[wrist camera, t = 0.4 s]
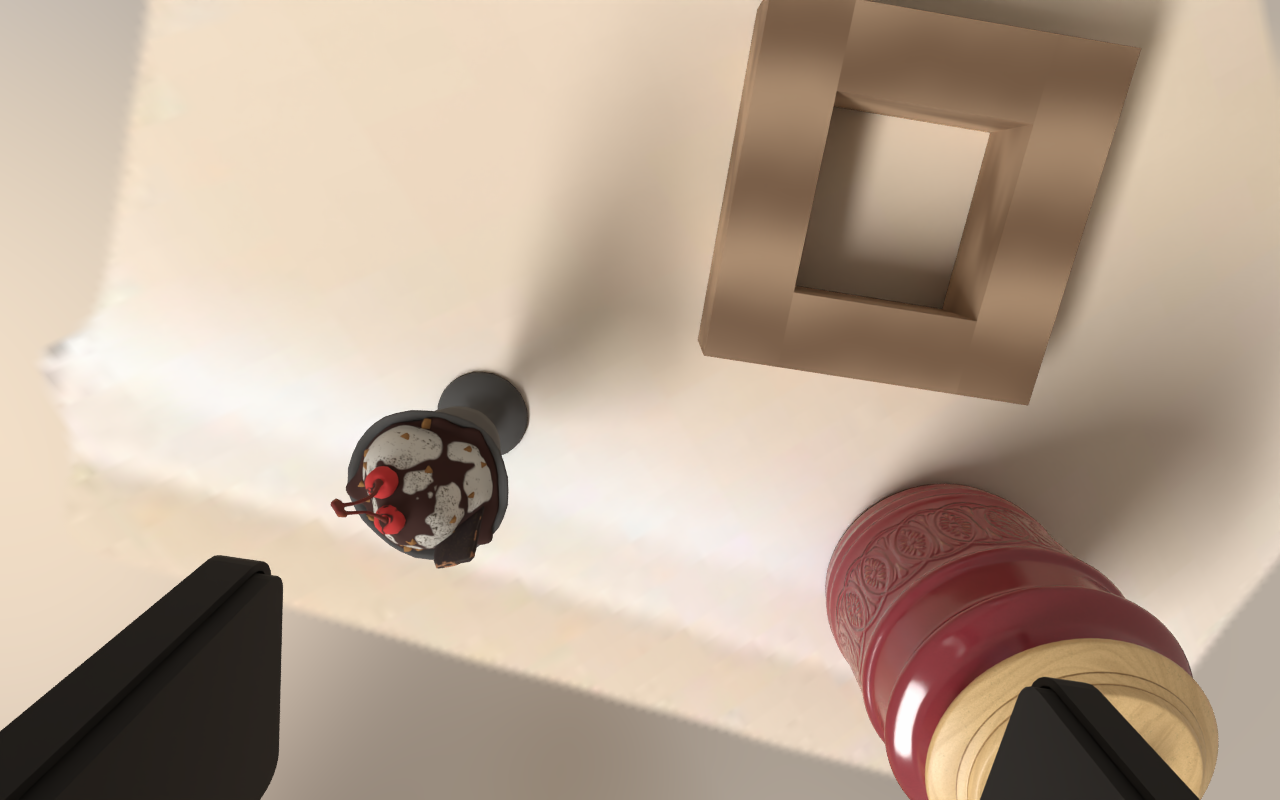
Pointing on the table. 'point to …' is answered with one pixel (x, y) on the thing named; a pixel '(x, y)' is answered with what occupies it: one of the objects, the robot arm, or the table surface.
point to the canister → (994, 638)
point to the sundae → (439, 471)
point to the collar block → (999, 213)
